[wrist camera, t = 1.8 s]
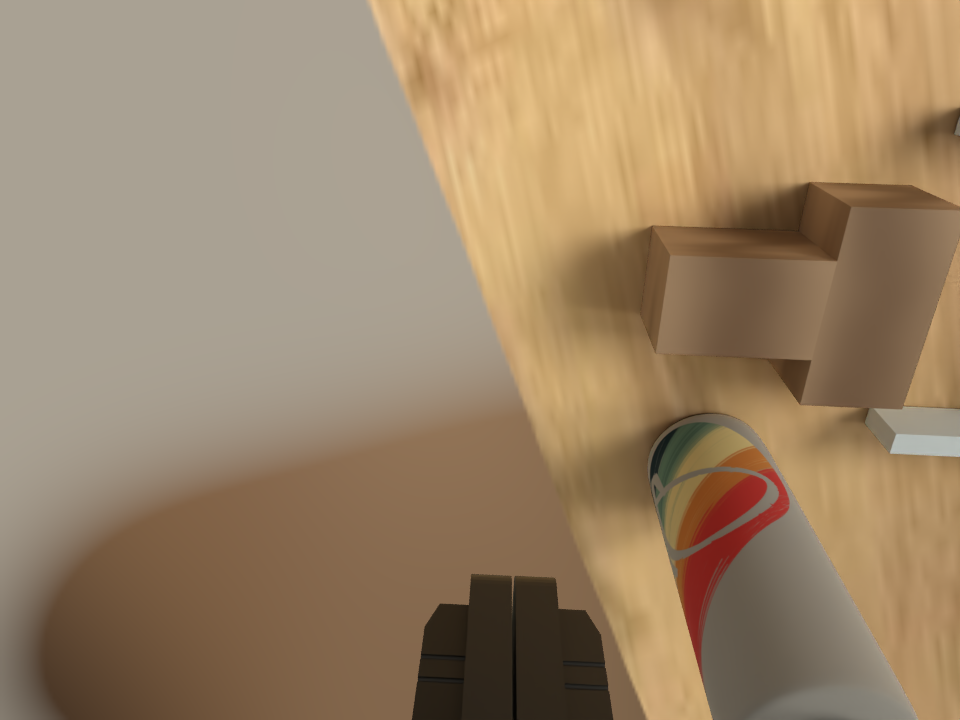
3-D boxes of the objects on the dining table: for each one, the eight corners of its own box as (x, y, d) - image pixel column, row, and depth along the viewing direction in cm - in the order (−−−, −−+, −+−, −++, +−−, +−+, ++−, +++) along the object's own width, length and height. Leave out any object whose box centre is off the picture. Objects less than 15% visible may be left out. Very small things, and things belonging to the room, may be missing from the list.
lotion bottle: (644, 414, 33) (787, 883, 15) (768, 405, 33) (1068, 882, 15) (645, 510, 36) (769, 1011, 18) (760, 504, 35) (1009, 1014, 17)
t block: (911, 185, 28) (968, 211, 24) (858, 364, 32) (902, 409, 28) (658, 177, 28) (678, 200, 25) (634, 354, 32) (649, 398, 28)
